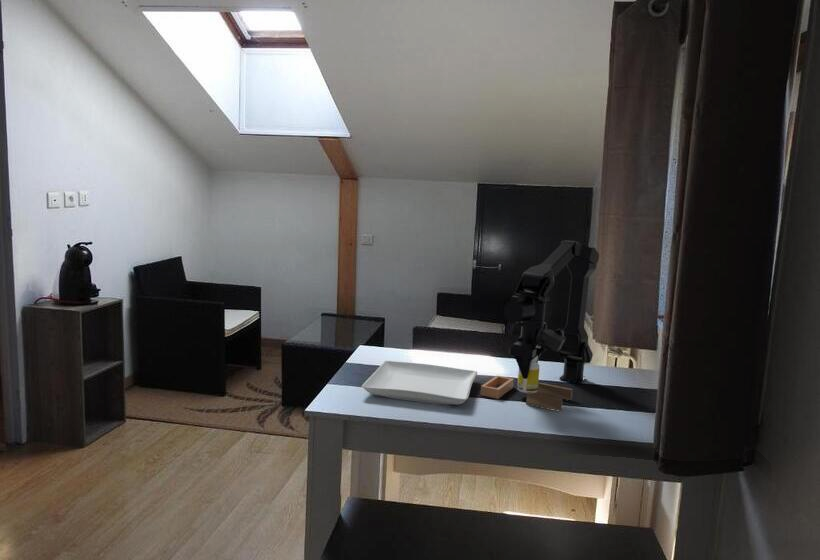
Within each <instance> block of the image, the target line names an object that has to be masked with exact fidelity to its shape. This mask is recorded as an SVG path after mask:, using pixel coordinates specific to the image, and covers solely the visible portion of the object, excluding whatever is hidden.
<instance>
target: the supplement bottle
mask: <svg viewBox="0 0 820 560" xmlns="http://www.w3.org/2000/svg"><path fill="white" fill-rule="evenodd" d="M537 360H538V356H537V357H535V358H534V359H533V360H532V362H531V366H530V370H529V374H528V378H527V379H524V378H523V377H522V374H521V371H520V369H519V368H518V373H517V374H518V375H517V387H516V388H517V390H518V391H519V392H520V393H525V394H527V393H528V392H530V393H535V394H537V393H538V385H539V381H540V380H539V378H540V376H539V375H540V365H539V363H536V361H537ZM538 361H539V360H538Z"/></svg>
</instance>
